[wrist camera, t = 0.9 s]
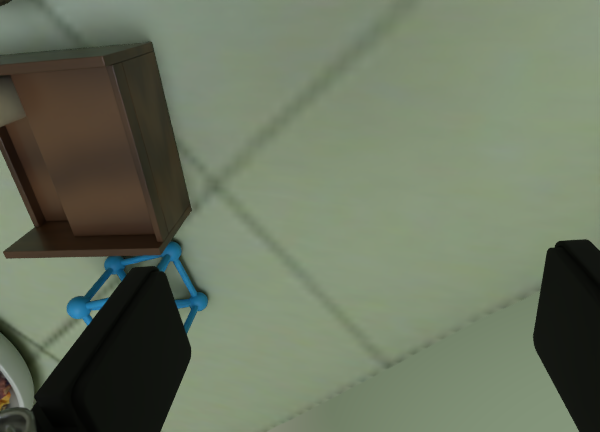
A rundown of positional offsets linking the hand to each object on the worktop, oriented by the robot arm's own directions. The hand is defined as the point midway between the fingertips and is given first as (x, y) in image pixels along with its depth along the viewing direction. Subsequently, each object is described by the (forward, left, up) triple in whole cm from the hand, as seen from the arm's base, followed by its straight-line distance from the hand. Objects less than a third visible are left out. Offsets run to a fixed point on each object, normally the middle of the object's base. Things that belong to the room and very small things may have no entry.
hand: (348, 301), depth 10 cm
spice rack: (+5, -26, -32) cm, 41 cm away
